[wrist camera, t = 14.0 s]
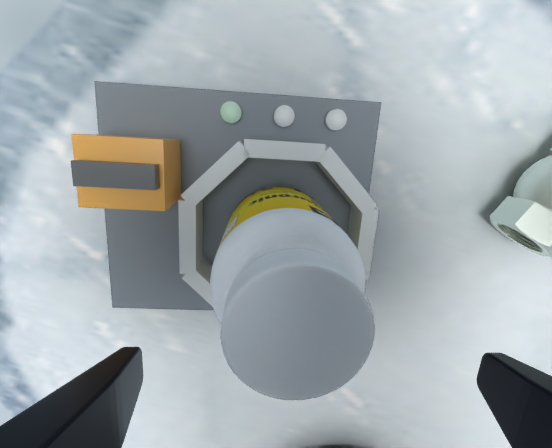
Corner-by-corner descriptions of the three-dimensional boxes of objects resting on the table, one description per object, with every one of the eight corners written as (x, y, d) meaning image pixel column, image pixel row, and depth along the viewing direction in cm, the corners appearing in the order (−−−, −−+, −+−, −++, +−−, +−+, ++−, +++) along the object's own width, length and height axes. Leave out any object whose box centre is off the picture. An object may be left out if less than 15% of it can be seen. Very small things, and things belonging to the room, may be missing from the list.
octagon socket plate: (343, 297, 21) (362, 333, 17) (126, 291, 20) (95, 327, 16) (368, 106, 18) (398, 97, 14) (113, 87, 17) (70, 72, 13)
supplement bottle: (341, 202, 17) (442, 280, 8) (303, 288, 18) (351, 445, 9) (247, 167, 16) (232, 205, 7) (214, 259, 18) (164, 397, 8)
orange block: (181, 198, 17) (161, 214, 13) (110, 194, 16) (70, 210, 13) (180, 139, 16) (158, 139, 12) (106, 134, 16) (62, 133, 12)
